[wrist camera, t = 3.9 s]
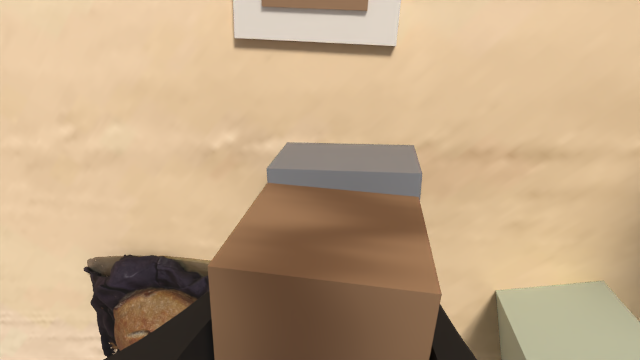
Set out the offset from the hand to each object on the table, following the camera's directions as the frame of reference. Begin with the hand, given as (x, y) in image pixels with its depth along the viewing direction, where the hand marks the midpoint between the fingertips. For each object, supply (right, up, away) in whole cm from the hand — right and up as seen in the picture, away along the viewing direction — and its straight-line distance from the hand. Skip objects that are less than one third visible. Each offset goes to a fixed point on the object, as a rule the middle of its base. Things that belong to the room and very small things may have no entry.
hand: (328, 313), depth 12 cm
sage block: (+12, -4, +9) cm, 15 cm away
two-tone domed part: (-9, -4, +13) cm, 16 cm away
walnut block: (0, +1, +2) cm, 2 cm away
